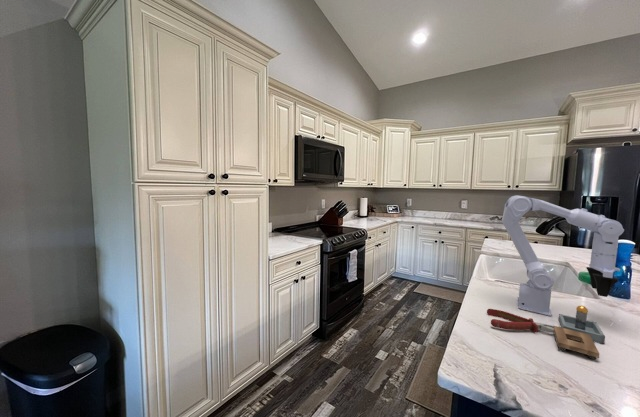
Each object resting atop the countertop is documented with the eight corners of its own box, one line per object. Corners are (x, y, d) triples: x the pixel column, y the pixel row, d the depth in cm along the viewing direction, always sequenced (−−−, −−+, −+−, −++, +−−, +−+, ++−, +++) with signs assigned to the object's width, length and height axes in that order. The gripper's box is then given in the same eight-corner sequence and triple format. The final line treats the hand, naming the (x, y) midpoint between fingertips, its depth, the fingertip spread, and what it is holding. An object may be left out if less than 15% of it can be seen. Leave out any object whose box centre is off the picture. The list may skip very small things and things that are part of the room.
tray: (562, 333, 81) (563, 326, 81) (558, 320, 89) (559, 313, 89) (604, 344, 76) (605, 336, 76) (595, 329, 84) (596, 322, 84)
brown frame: (557, 350, 73) (558, 342, 73) (552, 333, 82) (553, 325, 81) (598, 362, 68) (599, 353, 68) (588, 342, 77) (589, 334, 77)
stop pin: (575, 330, 82) (577, 306, 82) (573, 326, 84) (575, 303, 84) (586, 333, 81) (589, 308, 80) (584, 329, 83) (587, 305, 82)
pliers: (572, 344, 75) (573, 336, 75) (490, 327, 84) (491, 319, 84) (557, 327, 85) (558, 319, 85) (486, 313, 94) (486, 306, 94)
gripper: (629, 260, 79) (623, 303, 80) (614, 251, 91) (609, 288, 92) (596, 256, 83) (591, 296, 85) (586, 248, 95) (582, 283, 96)
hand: (599, 292), depth 89 cm, fingers open, 7 cm apart
